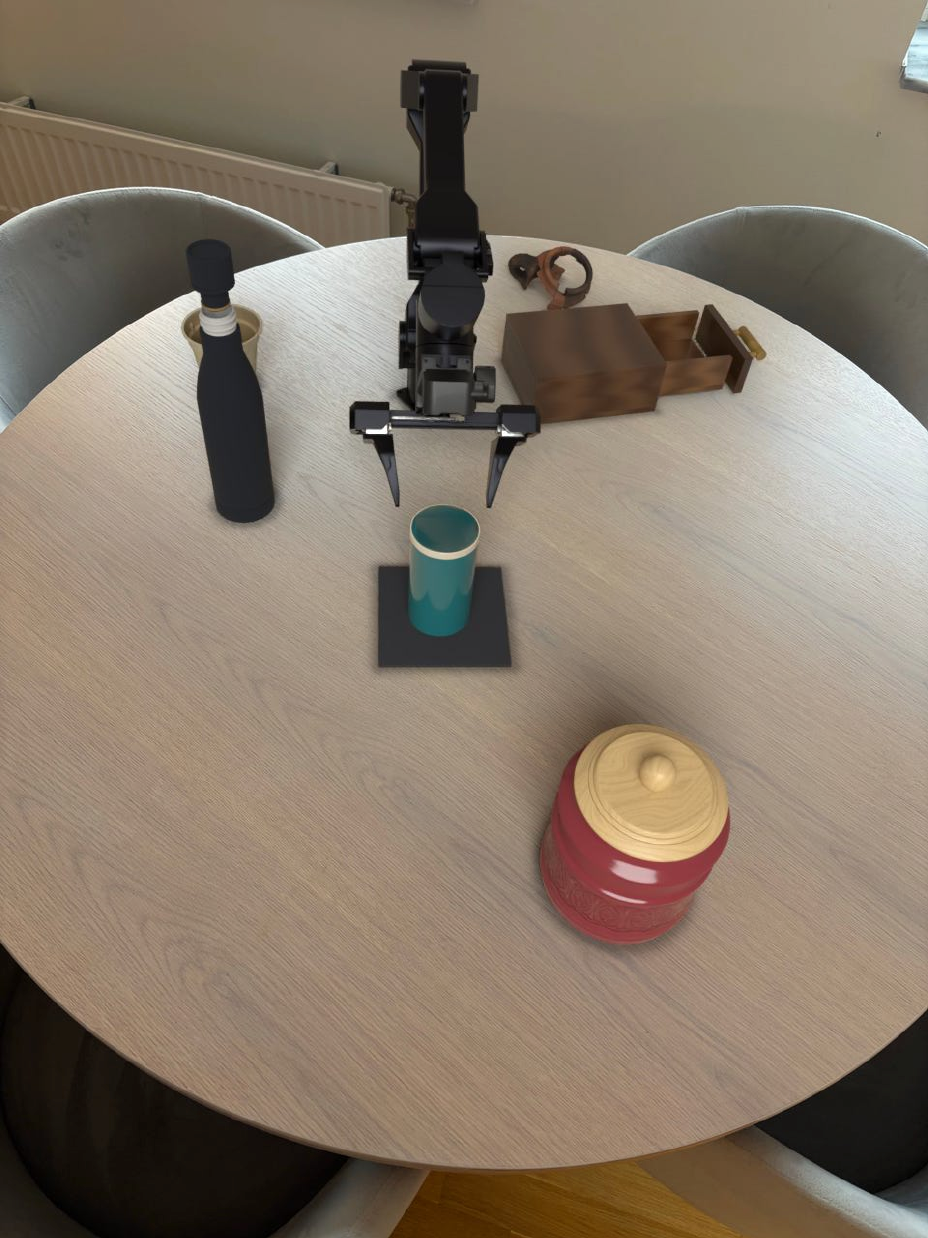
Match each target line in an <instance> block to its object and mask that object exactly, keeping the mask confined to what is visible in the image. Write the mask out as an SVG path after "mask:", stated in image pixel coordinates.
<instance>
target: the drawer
mask: <svg viewBox="0 0 928 1238" xmlns="http://www.w3.org/2000/svg"><path fill="white" fill-rule="evenodd" d="M635 316H636V317H637V319H638V320H639V322H640V323H641V325H642V326H643V328H644V329H645V331H646V332H647V334H648V335H649V337H650V339H651V340H652V342H653V343H654V345H655V346H656V348H657V349H658V351H659V352H660V354H661V355H662V357H663V358H664V360H665V361H666V363H667V368H666V372H665V375H664V379H663V382H662V386H661V390H660V393H659V397H667V396H677V395H684V394H685V395H686V394H693V393H702V392H710V391H721V390H723V388H724V385H725V384H726V385H727V387H728V388H729V390H730V392H731V393H732V394H741V393H742V391H743V389H744V386H745V383H746V380H747V377H748V375H749V373H750V369H751V367H752V363H753V362H754V359H756V361H763V360H764V359H766V357H767V352H766V350H765V349H764V348H763V347H762V345H761V344H760V342H759V341H758V340H757V339H756V337H755V336H754V335H753V334H752V332H751V331H750V330H749V328H748V327H747V326H746V325H741V326H739V327H738V328H737V329H732V328H731V326H730V325H729V324H728V322H727V321H726V320H725V319H724V317H723V316H722V314H721V313H720V312H719V310H718V309H717V308H716V307H715V305H714V304H713V303H710V304H704V305H703V309H702V314H701V316H700V311H699V310H698V309H692V310H683V311H682V310H681V311H670V312H660V313H651V314H638V315H635ZM699 317H700V319H699ZM698 320H699V322H698ZM697 324H698V327H697ZM696 327H697V330H696ZM695 330H696V333H695ZM694 333H695V337H693V336H694ZM693 338H694V340H695V341H694V340H693ZM740 339H741V340H740ZM695 342H696V343H697V344H696V343H695ZM743 343H744V344H743ZM697 345H698V346H699V347H700V348H699V347H698V346H697ZM745 346H746V347H745ZM700 349H701V350H702V351H701V350H700ZM702 352H703V353H704V354H703V353H702ZM705 356H706V357H705Z"/></svg>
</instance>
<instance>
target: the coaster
mask: <svg viewBox="0 0 928 1238" xmlns="http://www.w3.org/2000/svg"><path fill="white" fill-rule="evenodd" d="M408 576H409V566H378V588H377V589H378V596H377V597H378V602H377V603H378V608H377V609H378V610H377V611H378V614H377V616H378V617H377V618H378V619H377V625H378V626H377V627H378V628H377V629H378V631H377V632H378V634H377V635H378V636H377V638H378V639H377V641H378V643H377V645H378V649H377V653H378V654H377V656H378V657H377V658H378V659H377V662H378V665H377V667H378V668H512V657H511V647H510V638H509V630H508V621H507V620H508V619H507V611H506V603H505V592H504V584H503V574H502V567H499V566H498V567H496V566H495V567H492V566H491V567H490V566H486V567H483V566H482V567H481V566H479V567H478V566H477V567H475V576H474V584H473V593H472V602H471V610H470V618H469V621H468V623H467V624H466V626H465V627H464V628H463V629H461V630H460V631H459V632H457V633H455V634H452V635H448V636H431V635H428V634H425V633H423V632H421V631H419V630H418V629H416V628H415V627H414V626H413V625H412V623H411V622H410V620H409V618H408V614H407V603H408Z"/></svg>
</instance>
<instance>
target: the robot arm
mask: <svg viewBox="0 0 928 1238" xmlns="http://www.w3.org/2000/svg"><path fill="white" fill-rule="evenodd" d="M399 78H400V83H399V107H400V108H401V109H406V110H405V128H406V129H407V132H408V133H409V135H410V137H411V140H413V143H414V144H415V146H416V148H417V150H418V152H419V159H418V161H419V162H418V164H419V166H418V167H419V168H418V198H417V200H416V201H415V203H414V213H413V227H406V276H407V281H418V282H417V285H416V286H415V289H413V292H412V293H411V296H409V298H408V300H407V302H406V304H405V309H404V320H399V321H398V329H397V330H398V335H397V336H398V337H397V339H398V341H397V342H398V343H397V344H398V345H397V348H398V349H397V352H398V353H397V355H398V369H399V370H403V369H406V387H403V388H400V389H398V390H396V397H397V398H398V399H399V400H400V401H401V402H402V403H403V404H404V405H405V406H406V408H408V409H409V410H408V409H407V410H406V409H391V408H390V407H391V405H390V403H391V402H390V401H375V400H374V401H371V400H354V401H353V402H352V403H351V404H350V406H349V407H348V430H349V433H350V435H353V436H354V435H356V436H362V442H363V444H366V445H367V444H368V445H373V448H374V449H375V451H376V453H377V454H376V455H377V456H378V458H379V460H380V462H381V465H382V468H383V470H384V473H385V476H386V479H387V483H388V486H389V489H390V494H391V497H392V500H393V503H394V507H395V508H400V506H401V505H400V504H401V503H400V502H401V498H400V497H401V491H400V484H399V483H400V481H399V476H398V467H397V458H396V453H395V452H396V451H395V441H394V434H393V433H392V429H396V430H397V429H398V430H400V429H401V430H443V431H444V430H446V431H447V430H452V431H492V432H493V431H494V434H495V438H494V439H493V440H491V444H490V453H489V461H488V471H487V481H486V488H485V489H486V490H485V508H486V509H492V507H493V504H494V500H495V497H496V495H497V491H498V488H499V485H500V482H501V480H502V477H503V474H504V470H505V468H506V465H507V463H508V461H509V459H510V457H511V455H512V453H513V452H514V449H515V448H516V447H521V446H522V445H524V444H527V442H528V439H532V438H534V437H536V436H538V435H540V434H541V433H542V432H541V429H542V428H541V427H542V424H541V414H540V411H539V409H538V408H537V407H536V406H535V405H522V404H508V403H506V404H502V403H501V404H500V405H498V407H497V408H496V409H495V411H476V409H477V404H494V403H495V401H496V389H497V377H496V376H497V371H496V370H497V368H496V366H495V365H475V366H474V353H475V349H476V345H477V342H478V336H477V334H475V332H474V330H475V329H474V328H475V327H474V326H475V325H476V323H477V320H478V319H479V316H480V314H481V312H482V310H483V308H484V306H485V300H486V290H485V287H484V284H485V283H486V284H487V282H488V280H489V276H490V277H492V276H493V275H494V265H495V264H494V257H493V252H492V247H491V243H490V241H489V240H488V238H487V233H486V230H482V229H481V230H480V217H479V207H478V206H479V205H478V204H477V203H476V202H475V200H474V198H472V197H471V196H470V194H469V193H468V192H467V191H466V171H465V170H466V166H465V133H466V132H467V130H468V125H469V123H470V118H471V113H475V112H478V106H479V105H478V103H479V102H478V101H479V80H480V74H478V73H472V69H470V67H469V68H468V67H467V62H466V61H456V60H437V59H421V58H420V59H419V58H418V59H417V58H412V59H411V64H409V65H408V66H407V70H406V69H400V77H399ZM456 416H460V417H461V418H464V419H461V420H460V419H456V418H457V417H456Z"/></svg>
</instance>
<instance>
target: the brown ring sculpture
mask: <svg viewBox="0 0 928 1238" xmlns="http://www.w3.org/2000/svg"><path fill="white" fill-rule="evenodd" d="M565 256H570V257H572V258H574V260H575V261H576V262H577V263H578V264H580V265H581V266H582V267H583V269H584V272H585V278H584V282H583V283H582V284H581V285H579V286H578V287H565V290H564V292H562V291H560V290H559V288H560V283H559V282H558V281H559V280H560V279H561V278H562V275H563V274H564V273H565V270H566V269H565V268H563V267H561V266H559V265H558V264H556V263H555V262H556V261H557V260H559V258H560V257H565ZM507 267H508V271H509V273H510V275H511V276H512V278H513V279H514V280H516V281H517V282H518V283H519V284H520V286H521V288H522V290H523V291H527V290H528V286H529V285H530V284H531V282H533V281H534V280H536V279H539V281H540V284H541V285H542V286H543V287H544V289H545V291H546V293H547V294H548V295H549V296H550V297H551V300H550V303H548V305H546V310H555V309H566V308H573V307H575V306H576V305H578V304H580V303H581V302H582V301H584V300H585V299H586V295H588V294H589V293H590V290H591V287H592V286H591V285H592V280H593V278H594V277H593V276H594V271H593V268H592V265H591V262H590V260H589V259H588V257H587V256H586V255H585V254H584V253H583V252H581V251H580V250H578V249H576V248H575V247H574V248H573V247H570V246H566V245H561V246H556V247H553V248H551V249H547V250H544V251H542V252H541V253H539V254H538V255H531V254H529V253H524V252H522V253H520V252H519V253H516V254H514V255H513V256H511V257H510V259H508V262H507Z"/></svg>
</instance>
